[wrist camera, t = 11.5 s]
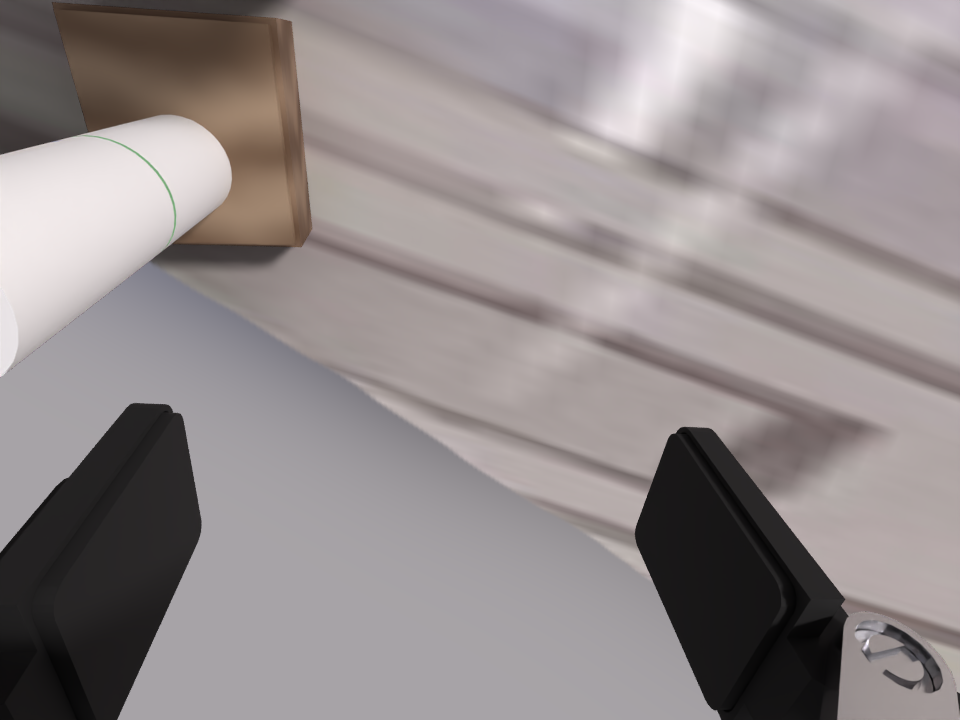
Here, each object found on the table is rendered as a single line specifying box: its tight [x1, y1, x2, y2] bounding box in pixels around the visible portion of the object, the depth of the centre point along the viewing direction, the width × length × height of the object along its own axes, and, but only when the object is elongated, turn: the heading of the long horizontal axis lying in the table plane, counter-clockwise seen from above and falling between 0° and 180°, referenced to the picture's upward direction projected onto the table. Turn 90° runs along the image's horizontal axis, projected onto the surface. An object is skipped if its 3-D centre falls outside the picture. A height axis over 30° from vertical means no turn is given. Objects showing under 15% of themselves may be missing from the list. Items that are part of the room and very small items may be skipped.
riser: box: [52, 2, 312, 247], centre depth 41 cm, size 16×14×6 cm
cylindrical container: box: [0, 115, 232, 377], centre depth 29 cm, size 7×7×25 cm
